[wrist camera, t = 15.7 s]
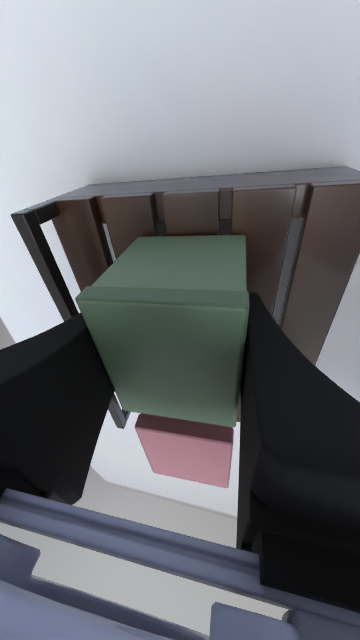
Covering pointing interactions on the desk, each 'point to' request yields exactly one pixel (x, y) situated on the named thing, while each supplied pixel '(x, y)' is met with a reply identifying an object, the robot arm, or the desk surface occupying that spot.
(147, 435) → the rose box
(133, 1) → the desk surface
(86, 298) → the sage box
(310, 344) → the rack
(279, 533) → the robot arm
